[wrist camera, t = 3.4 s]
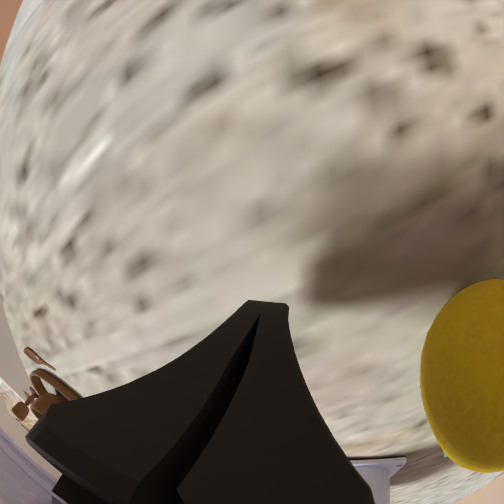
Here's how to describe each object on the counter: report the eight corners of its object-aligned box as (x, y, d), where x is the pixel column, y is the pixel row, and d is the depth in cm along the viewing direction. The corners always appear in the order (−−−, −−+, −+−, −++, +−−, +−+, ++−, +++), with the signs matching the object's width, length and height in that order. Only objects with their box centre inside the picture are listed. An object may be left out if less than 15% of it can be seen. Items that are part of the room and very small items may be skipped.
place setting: (131, 454, 27) (114, 486, 21) (36, 396, 30) (17, 418, 25) (85, 375, 19) (49, 420, 14) (-11, 311, 23) (-39, 334, 17)
